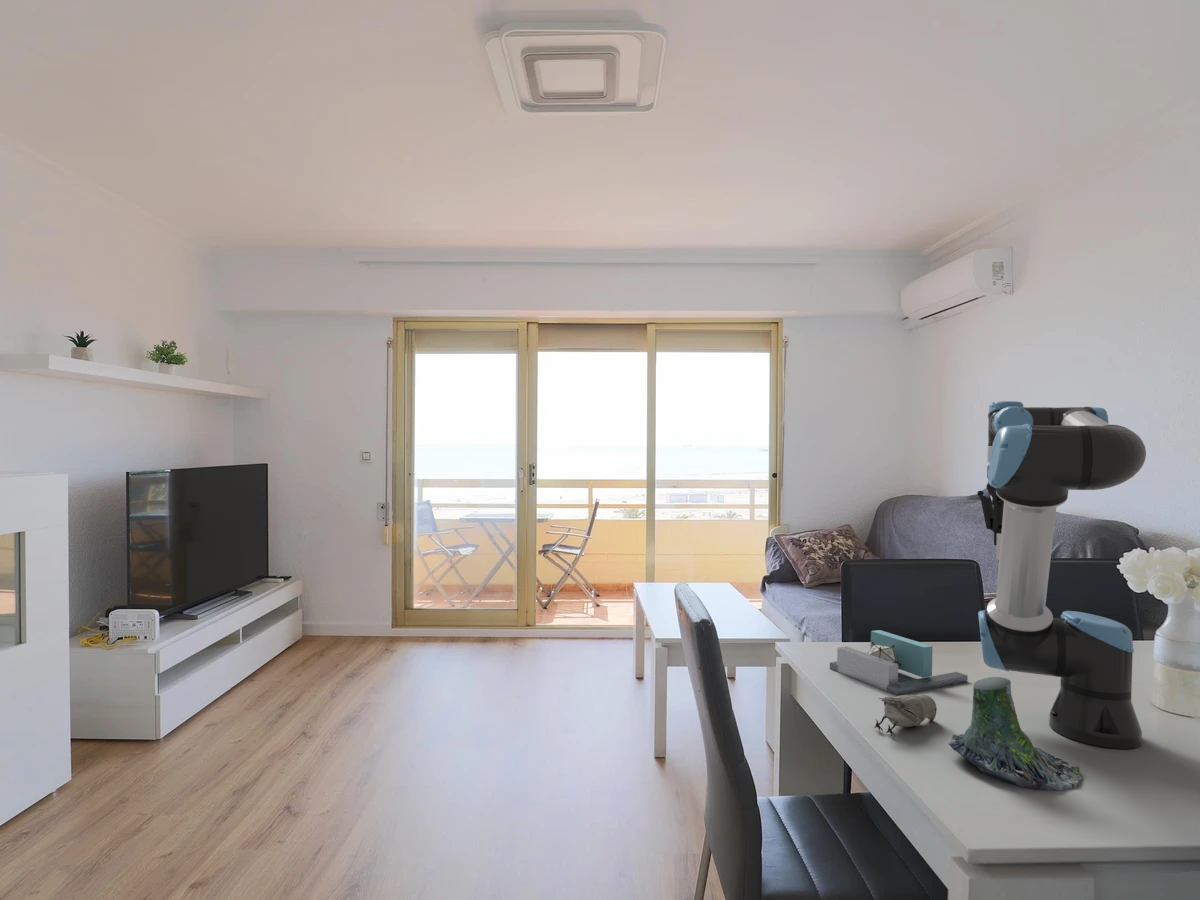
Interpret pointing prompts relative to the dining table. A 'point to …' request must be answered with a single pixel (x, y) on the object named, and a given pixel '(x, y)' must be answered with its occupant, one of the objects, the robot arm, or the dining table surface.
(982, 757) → the tree stump
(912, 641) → the sliding jaw
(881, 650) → the game die
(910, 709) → the decorative bird
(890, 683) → the vise base
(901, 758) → the dining table surface
